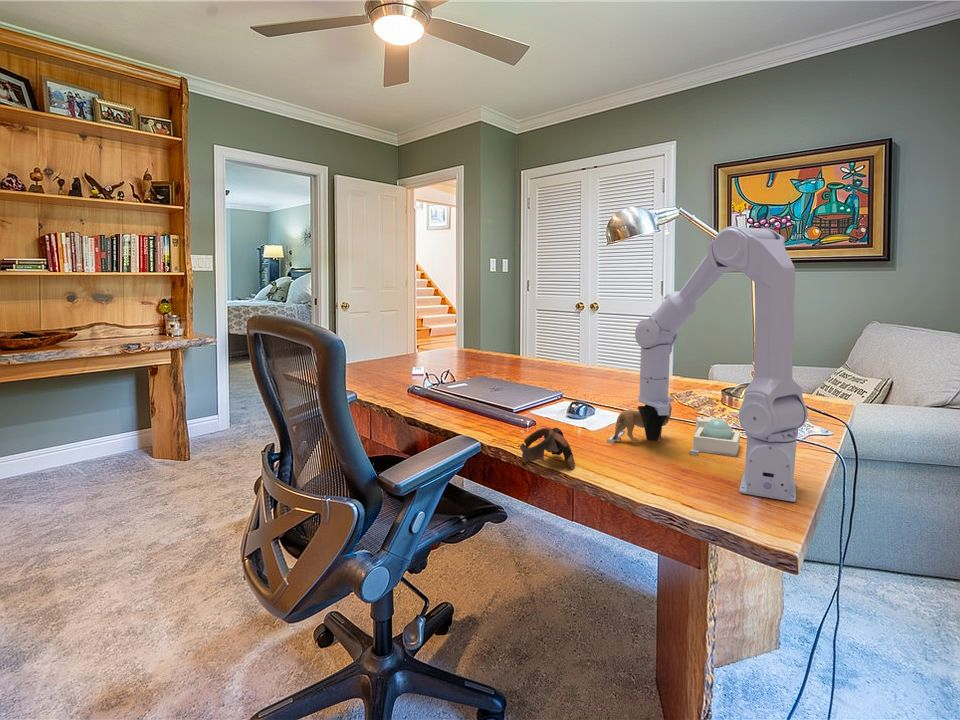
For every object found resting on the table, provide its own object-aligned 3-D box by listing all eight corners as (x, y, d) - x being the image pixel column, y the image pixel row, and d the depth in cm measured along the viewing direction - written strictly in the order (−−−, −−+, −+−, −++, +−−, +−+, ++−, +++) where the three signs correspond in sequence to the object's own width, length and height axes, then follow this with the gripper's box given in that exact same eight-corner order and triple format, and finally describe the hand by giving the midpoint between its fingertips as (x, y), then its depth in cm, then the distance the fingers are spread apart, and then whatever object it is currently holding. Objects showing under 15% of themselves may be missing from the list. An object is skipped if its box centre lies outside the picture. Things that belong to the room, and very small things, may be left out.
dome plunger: (729, 448, 104) (730, 423, 104) (701, 444, 107) (702, 420, 106) (731, 441, 109) (733, 417, 108) (705, 437, 111) (706, 414, 111)
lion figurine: (664, 437, 117) (662, 398, 118) (679, 439, 112) (677, 397, 113) (606, 441, 113) (604, 400, 114) (619, 443, 108) (616, 399, 109)
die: (717, 439, 114) (718, 421, 113) (697, 438, 115) (698, 420, 114) (714, 434, 118) (715, 416, 117) (695, 433, 119) (696, 415, 118)
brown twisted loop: (575, 479, 94) (552, 442, 93) (531, 493, 99) (509, 458, 97) (584, 443, 105) (564, 410, 103) (544, 457, 109) (524, 426, 107)
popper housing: (736, 456, 103) (736, 442, 102) (692, 450, 107) (693, 436, 106) (739, 445, 109) (740, 431, 109) (698, 440, 114) (699, 426, 113)
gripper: (686, 383, 101) (683, 451, 103) (662, 370, 115) (660, 430, 117) (649, 384, 101) (647, 451, 103) (630, 371, 115) (629, 430, 117)
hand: (652, 440), depth 110 cm, fingers closed
